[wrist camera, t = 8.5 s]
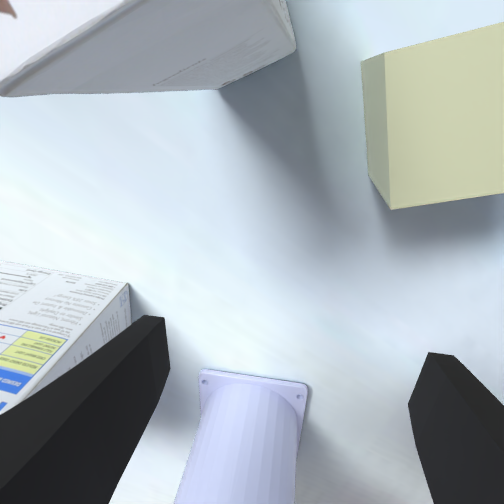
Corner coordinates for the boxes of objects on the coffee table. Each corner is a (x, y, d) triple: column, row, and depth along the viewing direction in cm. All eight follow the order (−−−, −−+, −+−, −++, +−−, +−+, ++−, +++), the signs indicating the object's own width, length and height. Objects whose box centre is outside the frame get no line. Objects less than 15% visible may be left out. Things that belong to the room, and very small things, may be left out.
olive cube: (481, 154, 15) (553, 185, 11) (368, 174, 16) (390, 209, 12) (492, 27, 13) (587, 0, 8) (360, 61, 14) (384, 52, 10)
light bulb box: (9, 327, 26) (-166, 471, 16) (-16, 253, 22) (-253, 379, 13) (138, 352, 25) (32, 521, 15) (131, 279, 21) (-9, 434, 12)
